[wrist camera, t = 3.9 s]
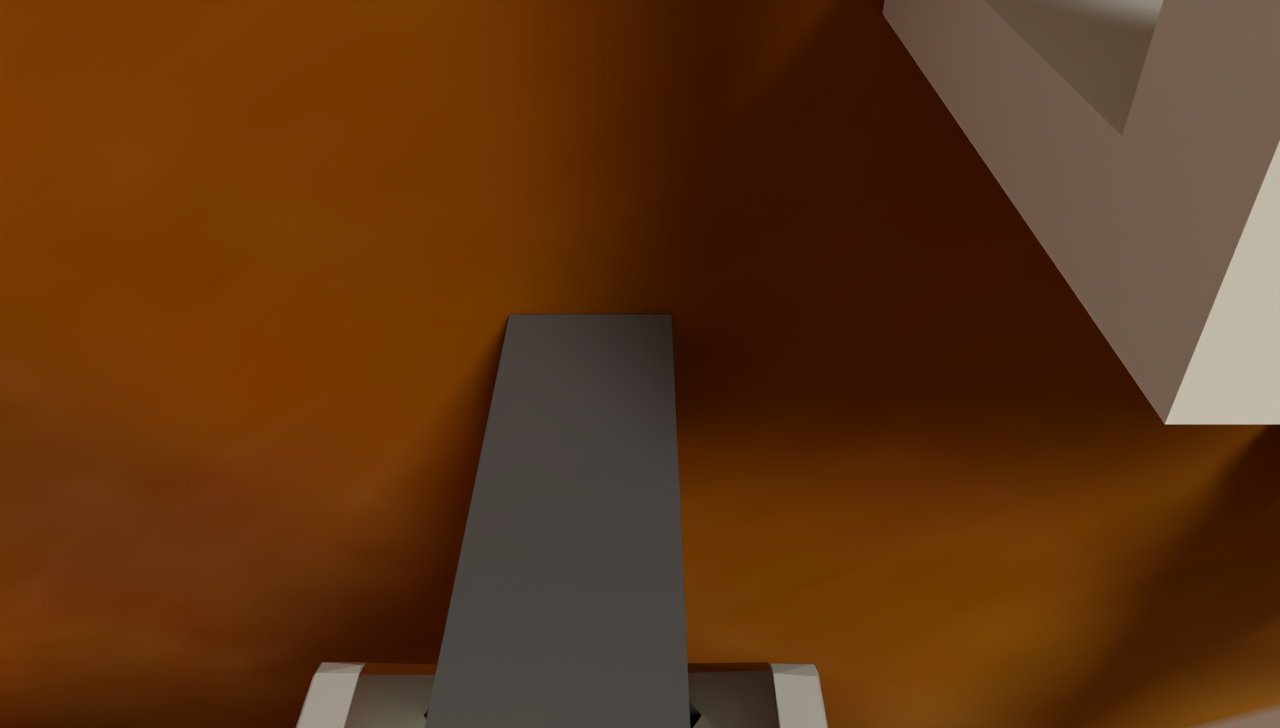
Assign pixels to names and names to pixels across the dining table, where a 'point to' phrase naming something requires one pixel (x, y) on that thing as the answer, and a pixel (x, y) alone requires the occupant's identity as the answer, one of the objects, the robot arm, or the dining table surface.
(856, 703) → the dining table surface
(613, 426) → the grey rectangular bar
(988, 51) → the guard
